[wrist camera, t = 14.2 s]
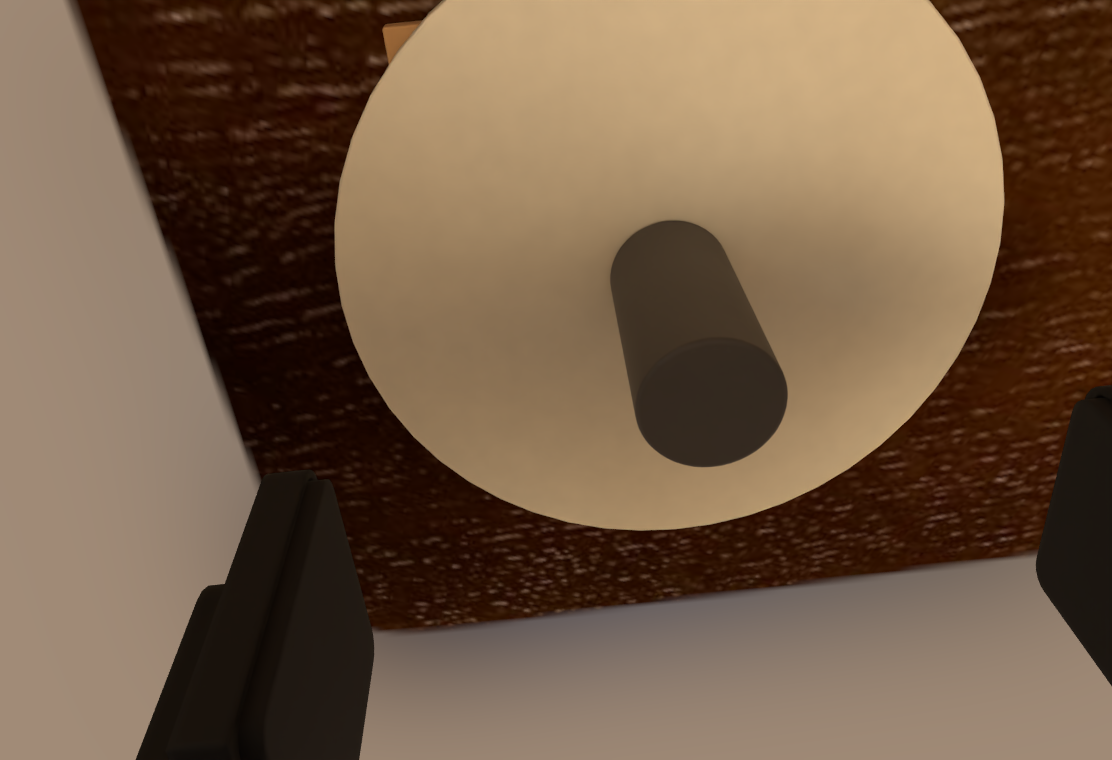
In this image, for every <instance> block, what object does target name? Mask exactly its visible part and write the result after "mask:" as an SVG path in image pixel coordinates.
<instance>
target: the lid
mask: <svg viewBox="0 0 1112 760" xmlns="http://www.w3.org/2000/svg"><path fill="white" fill-rule="evenodd" d="M1003 210H1004V184H1003V160H1002V155H1001V149H1000V144H999V139H998V134H997V129H996V123H995V118H994V115H993V112H992V110H991V107H990V104H989V101H988V98H987V96H986V93H985V90H984V87H983V84H982V82H981V79H980V76H979V74H978V73H977V71H976V69H975V67H974V65H973V63H972V62H971V60H970V58H969V56H968V54H967V53H966V51H965V49H964V47H963V45H962V43H961V42H960V40H959V38H958V37H957V35H956V34H955V33H954V31H953V30H952V29H951V28H950V26H949V25H948V24H947V22H946V21H945V20H944V19H943V17H942V16H941V15H940V13H939V12H938V11H937V10H936V8H935V7H934V6H933V4H932V3H931V2H930V1H929V0H442V1H441V2H440V3H439V4H438V5H437V6H436V7H435V8H434V9H433V10H431V11H430V12H429V13H428V15H427V16H426V17H425V18H424V19H423V21H422V22H421V23H420V24H419V26H418V27H417V28H416V29H415V30H414V32H413V33H412V34H411V35H410V36H409V38H408V39H407V40H406V41H405V42H404V44H403V45H402V46H401V47H400V48H399V50H398V51H397V53H396V54H395V56H394V58H393V59H392V61H391V63H390V64H389V66H388V67H387V69H386V71H385V72H384V74H383V76H382V77H381V79H380V80H379V82H378V84H377V85H376V87H375V88H374V90H373V92H372V94H371V95H370V97H369V100H368V102H367V104H366V107H365V109H364V111H363V113H362V116H361V118H360V120H359V123H358V125H357V127H356V129H355V132H354V134H353V136H352V139H351V143H350V146H349V150H348V153H347V157H346V161H345V164H344V168H343V172H342V175H341V179H340V184H339V192H338V200H337V208H336V215H335V223H334V226H335V267H336V274H337V280H338V286H339V293H340V299H341V305H342V308H343V311H344V315H345V318H346V321H347V324H348V328H349V331H350V334H351V337H352V341H353V343H354V345H355V347H356V350H357V352H358V354H359V356H360V358H361V360H362V363H363V365H364V367H365V369H366V371H367V373H368V375H369V377H370V379H371V380H372V382H373V383H374V385H375V387H376V388H377V390H378V391H379V393H380V394H381V396H382V397H383V399H384V401H385V402H386V404H387V405H388V407H389V408H390V410H391V411H392V412H393V413H394V414H395V415H396V417H397V418H398V419H399V420H400V421H401V423H402V424H403V425H404V426H405V427H406V428H407V430H408V431H409V432H410V433H411V434H412V436H413V437H414V438H416V439H417V440H418V441H419V442H420V443H421V444H422V445H423V446H424V447H425V448H426V449H428V450H429V451H430V452H431V453H432V454H433V455H434V456H435V457H436V458H437V459H438V460H439V461H441V462H442V463H444V464H445V465H446V466H448V467H449V468H451V469H452V470H453V471H455V472H456V473H458V474H459V475H460V476H462V477H463V478H465V479H466V480H467V481H469V482H471V483H472V484H474V485H476V486H478V487H480V488H482V489H483V490H485V491H487V492H489V493H491V494H493V495H494V496H496V497H498V498H500V499H502V500H505V501H507V502H509V503H512V504H514V505H517V506H519V507H522V508H524V509H527V510H529V511H532V512H534V513H538V514H541V515H545V516H548V517H552V518H555V519H559V520H562V521H566V522H570V523H576V524H582V525H588V526H594V527H600V528H608V529H624V530H639V531H640V530H667V529H681V528H688V527H695V526H702V525H709V524H715V523H719V522H723V521H727V520H731V519H735V518H739V517H744V516H748V515H751V514H754V513H756V512H759V511H762V510H765V509H768V508H771V507H773V506H776V505H779V504H782V503H785V502H787V501H789V500H791V499H793V498H795V497H797V496H799V495H802V494H804V493H806V492H808V491H810V490H812V489H814V488H817V487H818V486H820V485H822V484H824V483H825V482H827V481H829V480H830V479H832V478H834V477H835V476H837V475H839V474H840V473H842V472H844V471H845V470H847V469H849V468H850V467H852V466H853V465H854V464H856V463H857V462H858V461H860V460H861V459H862V458H864V457H865V456H866V455H868V454H869V453H870V452H872V451H873V450H874V449H876V448H877V447H878V446H880V445H881V444H882V443H883V442H884V441H885V440H887V439H888V438H889V437H890V436H891V435H892V434H893V433H894V432H895V431H896V430H897V429H898V428H899V427H901V426H902V425H903V424H904V423H905V422H906V421H907V420H908V419H909V418H910V417H911V416H912V415H913V414H914V413H915V411H916V410H917V409H918V408H919V407H920V406H921V404H922V403H923V402H924V401H925V400H926V399H927V398H928V396H929V395H930V394H931V393H932V392H933V391H934V390H935V388H936V387H937V385H938V384H939V383H940V381H941V380H942V378H943V377H944V375H945V374H946V372H947V371H948V369H949V368H950V367H951V365H952V364H953V362H954V361H955V359H956V358H957V356H958V355H959V353H960V351H961V349H962V347H963V345H964V343H965V341H966V339H967V338H968V336H969V334H970V332H971V330H972V328H973V326H974V324H975V322H976V320H977V318H978V315H979V313H980V310H981V307H982V305H983V302H984V299H985V297H986V294H987V292H988V289H989V286H990V284H991V280H992V276H993V271H994V267H995V263H996V259H997V255H998V250H999V246H1000V240H1001V230H1002V220H1003Z"/></svg>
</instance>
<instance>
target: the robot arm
mask: <svg viewBox="0 0 1112 760" xmlns="http://www.w3.org/2000/svg"><path fill="white" fill-rule="evenodd" d="M1036 572H1037V576H1038V580H1039V582H1040V585H1041V587H1042V588H1043V590H1044V592H1045V593H1046V595H1047V596H1048V597H1049V599H1050V600H1051V602H1052V603H1053V604H1054V606H1055V607H1056V609H1057V610H1058V611H1059V613H1060V614H1061V616H1062V617H1063V618H1064V620H1065V621H1066V623H1067V624H1068V625H1069V627H1070V628H1071V630H1072V631H1073V632H1074V634H1075V635H1076V637H1077V638H1078V639H1079V641H1080V642H1081V644H1082V645H1083V646H1084V648H1085V649H1086V651H1087V652H1088V653H1089V655H1090V656H1091V658H1092V659H1093V660H1094V662H1095V663H1096V665H1097V666H1098V667H1099V669H1100V670H1101V671H1102V673H1103V674H1104V676H1105V677H1106V679H1107V680H1108V681H1109V683H1110V684H1111V686H1112V385H1108V386H1099V387H1095V388H1093V389H1091V390H1090V391H1089V392H1088V394H1087V395H1086V398H1085V400H1081V401H1078V402H1077V403H1076V405H1075V406H1074V408H1073V411H1072V415H1071V419H1070V423H1069V427H1068V431H1067V436H1066V440H1065V444H1064V448H1063V452H1062V456H1061V460H1060V464H1059V468H1058V472H1057V477H1056V481H1055V485H1054V489H1053V493H1052V497H1051V501H1050V505H1049V509H1048V514H1047V518H1046V522H1045V526H1044V530H1043V534H1042V538H1041V542H1040V546H1039V550H1038V555H1037V560H1036ZM373 660H374V640H373V633H372V628H371V624H370V621H369V617H368V613H367V610H366V606H365V602H364V598H363V595H362V591H361V587H360V584H359V580H358V576H357V573H356V569H355V565H354V561H353V558H352V554H351V550H350V547H349V543H348V539H347V536H346V532H345V528H344V524H343V521H342V517H341V513H340V510H339V506H338V502H337V499H336V495H335V491H334V488H333V485H332V483H331V481H330V480H329V479H324V480H317V477H316V475H315V473H314V472H313V471H312V470H310V469H309V470H299V471H290V472H280V473H271V474H267V475H265V476H264V477H263V479H262V481H261V484H260V487H259V490H258V492H257V495H256V498H255V501H254V504H253V506H252V509H251V512H250V515H249V518H248V521H247V523H246V526H245V529H244V532H243V534H242V537H241V540H240V543H239V546H238V548H237V551H236V554H235V557H234V560H233V562H232V565H231V568H230V571H229V574H228V576H227V580H226V582H225V584H221V585H211V586H208V587H206V588H205V589H204V590H203V591H202V592H201V594H200V596H199V598H198V600H197V602H196V604H195V607H194V610H193V612H192V615H191V618H190V620H189V623H188V625H187V628H186V630H185V633H184V636H183V638H182V641H181V644H180V646H179V649H178V652H177V654H176V656H175V659H174V662H173V664H172V667H171V669H170V672H169V675H168V677H167V680H166V682H165V685H164V688H163V690H162V693H161V695H160V698H159V701H158V703H157V706H156V708H155V711H154V713H153V716H152V719H151V721H150V724H149V726H148V729H147V732H146V734H145V737H144V739H143V742H142V745H141V747H140V750H139V753H138V755H137V758H136V760H359V756H360V749H361V743H362V736H363V729H364V722H365V715H366V708H367V702H368V694H369V688H370V681H371V674H372V667H373Z"/></svg>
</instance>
